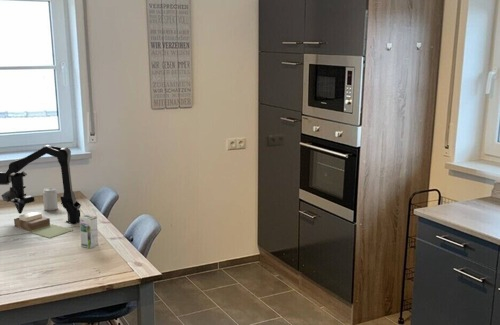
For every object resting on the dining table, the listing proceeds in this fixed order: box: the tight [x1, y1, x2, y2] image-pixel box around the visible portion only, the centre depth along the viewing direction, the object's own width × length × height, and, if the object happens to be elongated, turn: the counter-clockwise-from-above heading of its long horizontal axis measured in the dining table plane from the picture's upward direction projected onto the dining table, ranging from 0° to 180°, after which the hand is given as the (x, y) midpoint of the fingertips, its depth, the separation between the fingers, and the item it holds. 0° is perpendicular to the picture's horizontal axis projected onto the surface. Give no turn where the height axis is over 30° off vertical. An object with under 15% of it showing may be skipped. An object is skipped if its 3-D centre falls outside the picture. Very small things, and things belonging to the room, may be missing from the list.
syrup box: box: [79, 214, 99, 249], centre depth 249 cm, size 6×6×14 cm
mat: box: [28, 223, 74, 239], centre depth 270 cm, size 16×14×1 cm
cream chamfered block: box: [18, 211, 43, 222], centre depth 277 cm, size 6×9×2 cm, turn 147°
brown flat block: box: [13, 215, 51, 232], centre depth 278 cm, size 14×11×4 cm
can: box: [42, 187, 59, 212], centre depth 307 cm, size 8×8×12 cm
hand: (20, 213), depth 282 cm, fingers closed
